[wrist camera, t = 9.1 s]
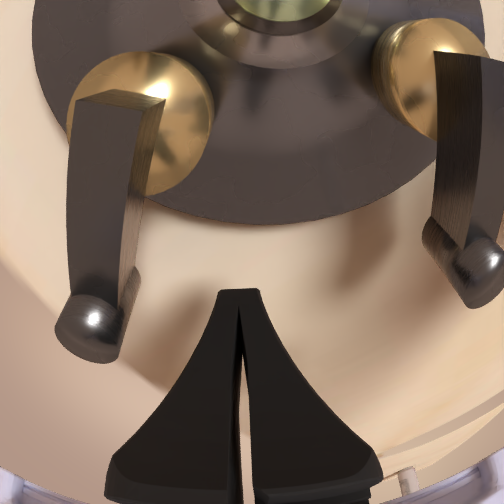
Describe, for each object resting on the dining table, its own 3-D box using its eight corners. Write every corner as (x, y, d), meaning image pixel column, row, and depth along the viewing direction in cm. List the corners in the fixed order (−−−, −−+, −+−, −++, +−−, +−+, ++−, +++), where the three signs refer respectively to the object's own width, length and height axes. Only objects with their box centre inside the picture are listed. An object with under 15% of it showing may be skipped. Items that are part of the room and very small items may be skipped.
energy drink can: (406, 469, 69) (414, 505, 57) (393, 473, 68) (401, 510, 55) (417, 464, 65) (426, 501, 53) (404, 468, 64) (413, 506, 52)
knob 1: (108, 45, 7) (9, 48, 3) (232, 69, 8) (226, 72, 4) (82, 252, 12) (33, 341, 8) (172, 276, 13) (151, 378, 9)
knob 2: (362, 16, 7) (458, -3, 3) (458, 28, 7) (560, 42, 2) (376, 234, 12) (430, 324, 8) (454, 219, 12) (517, 291, 8)
